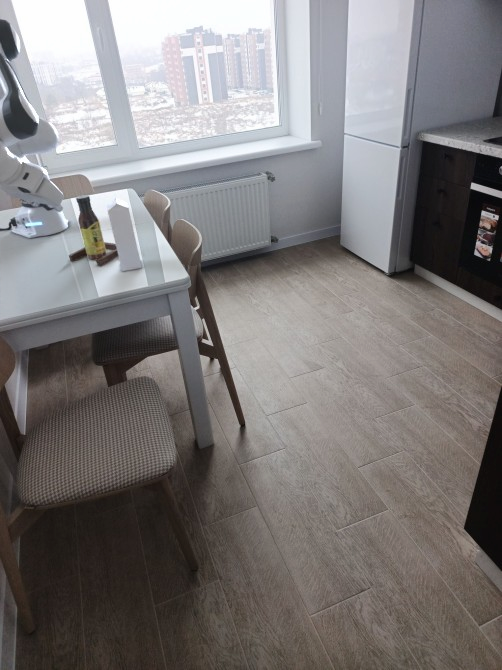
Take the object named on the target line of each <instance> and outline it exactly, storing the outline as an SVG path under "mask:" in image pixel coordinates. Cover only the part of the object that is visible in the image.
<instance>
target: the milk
mask: <svg viewBox="0 0 502 670" xmlns="http://www.w3.org/2000/svg"><path fill="white" fill-rule="evenodd" d="M106 208H107V215H108V219H109V222H110V226H111V227H110V228H111V230H112V231H111V232H112V235H113V239H114V244H116V247H117V252H118V256H117V257H118V259H119V263H120V267H121V271H122V272H127V271H132V270H138V269H141V268H142V263H141V258H140V254H139V249H138V245H137V241H136V236H135V231H134V226H133V222H132V217H131V212H130V208H129V205H128V202H126V201H124V200H122V199H118V198H117V197H116V195H114V199H113V200H112V201H111V202H110V203H108V204H107V206H106Z"/></svg>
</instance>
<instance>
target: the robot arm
mask: <svg viewBox="0 0 502 670" xmlns="http://www.w3.org/2000/svg"><path fill="white" fill-rule="evenodd" d="M20 49H21V42H20V38H19V36H18V33H17V31H16V30H15V28H14V27H13V25H12V24H11V23H10V22H9V21H8V20H7V19H1V18H0V189H1V190H2V191H3V193H5V194H6V195H7V196H9V197H11V198H12V199H17V200H18V201H21V207H20V209H19V210H18V212H17V213H15V216H14V217H12V218H11V219H10V221H9V222H8V227H6V228H1V227H0V232H1V231H2V232H3V231H10V230H11V232H12V233H14V234H16V235H20V236H22V237H25V238H28V239H34V238H38V237H45V236H50V235H51V236H52V235H55V234H58V233H61V232H63V231H65V230H66V229H68V227H69V225H68V223H69V220H68V219H66V217H65V215H64V212H63V209H64V206H63V205H61V204H62V202H63V201H64V198H65V197H64V194H63V192H62V191H61V190H60V189H59V188H58V187H57V186H56V184H54V182H52V181H51V179H50V176H49V173H48V171H47V170H46V169H45V168H44V167H43V166H41V165H38V164H36V163H34V162H33V163H32V162H31V161H30V160H28V158H27V157H26V156H31V155H40V154H46V153H49V152H52V151H55V150H56V149H57V147H58V145H59V142H60V137H59V134H58V131H57V128H56V127H55V125H53V123H51V122H50V121H48V120H47V119H44V118H43V117H41V116H40V115H38V114H37V113H36V110H35V109H34V107H33V105H32V103H31V102H30V101H29V98H28V97H27V94H26V92H25V89H24V87H23V85H22V83H21V81H20V79H19V76H18V74H17V72H16V71H15V69H14V67H13V65H12V64H11V62H14V61H13V60H15V59H17V58H18V57H19V55H20V52H21V51H20Z"/></svg>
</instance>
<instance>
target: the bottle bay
mask: <svg viewBox="0 0 502 670" xmlns="http://www.w3.org/2000/svg"><path fill="white" fill-rule="evenodd" d="M104 244H105V248H106V250H110V252H108V253H106V255H104V256H103V257H101V258H99V259H96V260H95V262H96V265H97V266H98V267H101V266H104V265H105V264H107V263H109V262H110V261H112V260H114V259H116V258H117V257H119V256H118V252H117V247H116V243H115V242H106V241H104ZM86 255H88V254H87V253H86V249H85V246H84V247H82V248H81V249H78V250H77V251H75V252H72V253H71V254H68V258H69V261H70V262H75V261H76V260H78V259H81V258H82V257H84V256H86Z"/></svg>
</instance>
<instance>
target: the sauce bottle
mask: <svg viewBox="0 0 502 670" xmlns="http://www.w3.org/2000/svg"><path fill="white" fill-rule="evenodd" d="M75 200H76V203H77V206H78V209H79V215H78V219H77V221H78V224H79V230H80V233H81V237H82V238H81V239H82V241H83V245H84V247H85V249H86V253H87V254H86V255H87V258H88V259H89V260H91V261H92V260H95V261H96V260H97V259H99V258H101V257H103V256H104V255H106V254H107V249H106V248H105V244H104V242H105V240H104V236H103V232H102V228H101V223H100V220H99V218H98V217H97V215H96V214H95V212H94V210H93V207H92V204H91V197H90V195H87V194H84V195H83V194H82V195H79V196H76V197H75Z"/></svg>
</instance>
